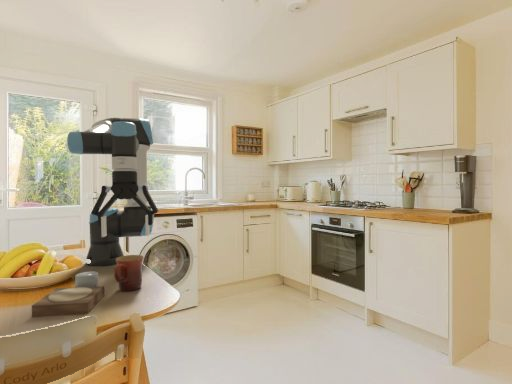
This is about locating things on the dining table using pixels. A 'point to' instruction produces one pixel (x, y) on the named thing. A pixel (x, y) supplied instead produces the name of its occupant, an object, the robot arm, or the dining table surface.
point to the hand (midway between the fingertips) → (126, 235)
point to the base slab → (68, 301)
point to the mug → (129, 272)
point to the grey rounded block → (86, 279)
